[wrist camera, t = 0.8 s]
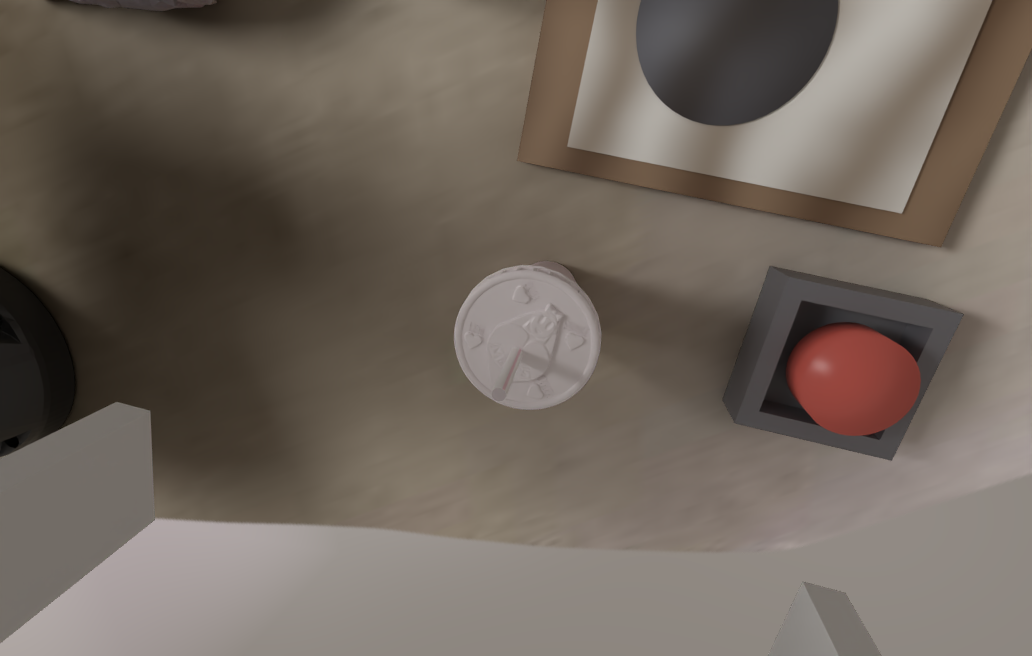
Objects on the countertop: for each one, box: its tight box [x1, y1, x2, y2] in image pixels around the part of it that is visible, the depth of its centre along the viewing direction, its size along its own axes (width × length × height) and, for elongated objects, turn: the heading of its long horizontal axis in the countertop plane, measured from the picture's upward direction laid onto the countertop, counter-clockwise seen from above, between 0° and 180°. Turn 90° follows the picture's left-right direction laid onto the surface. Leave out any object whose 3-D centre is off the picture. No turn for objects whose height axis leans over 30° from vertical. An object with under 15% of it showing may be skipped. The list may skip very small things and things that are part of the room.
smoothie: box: [454, 261, 602, 410], centre depth 25 cm, size 6×6×14 cm
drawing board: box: [517, 0, 1032, 247], centre depth 25 cm, size 22×16×2 cm
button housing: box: [723, 266, 964, 461], centre depth 29 cm, size 8×8×3 cm
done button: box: [786, 322, 921, 436], centre depth 26 cm, size 5×5×2 cm
